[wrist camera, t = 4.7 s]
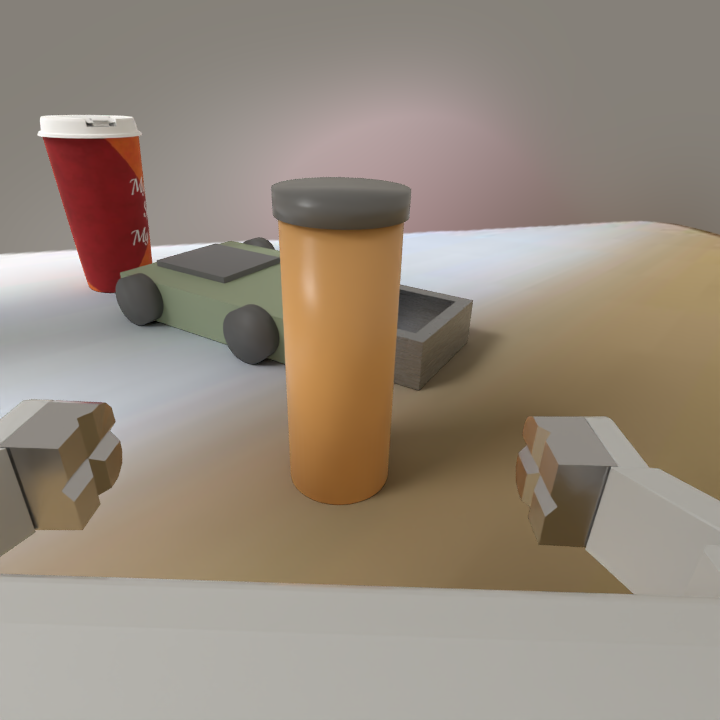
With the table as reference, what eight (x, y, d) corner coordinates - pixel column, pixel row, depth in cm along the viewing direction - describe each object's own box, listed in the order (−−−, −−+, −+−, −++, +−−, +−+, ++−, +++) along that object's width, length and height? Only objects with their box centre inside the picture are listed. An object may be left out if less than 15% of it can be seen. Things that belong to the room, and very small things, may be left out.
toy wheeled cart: (113, 316, 43) (103, 271, 41) (242, 270, 55) (239, 233, 53) (279, 374, 35) (276, 320, 33) (388, 305, 47) (390, 263, 45)
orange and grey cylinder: (264, 480, 25) (241, 189, 19) (326, 427, 29) (324, 173, 23) (356, 524, 23) (365, 206, 16) (409, 460, 27) (434, 186, 20)
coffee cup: (178, 285, 50) (153, 118, 43) (89, 303, 45) (45, 118, 38) (147, 265, 56) (121, 114, 49) (65, 279, 51) (23, 114, 44)
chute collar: (308, 355, 37) (307, 311, 36) (369, 316, 44) (371, 278, 43) (418, 390, 33) (423, 342, 32) (467, 341, 40) (472, 300, 39)
